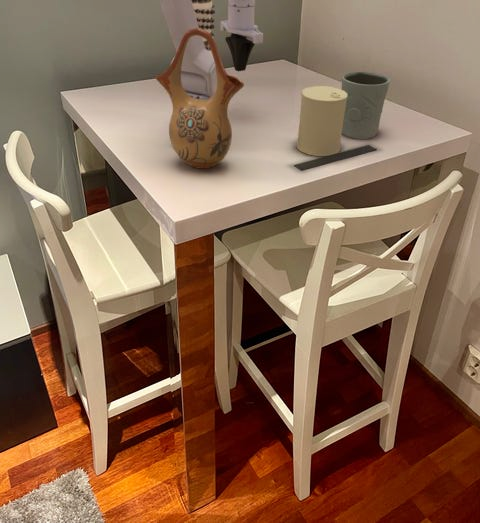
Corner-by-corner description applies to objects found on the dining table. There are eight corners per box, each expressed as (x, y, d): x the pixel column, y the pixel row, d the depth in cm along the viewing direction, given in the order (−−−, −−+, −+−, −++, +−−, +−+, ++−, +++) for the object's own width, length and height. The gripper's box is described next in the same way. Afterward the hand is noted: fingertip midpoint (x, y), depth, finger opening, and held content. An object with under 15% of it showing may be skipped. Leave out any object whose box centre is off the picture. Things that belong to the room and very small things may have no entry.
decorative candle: (221, 80, 146) (222, -20, 131) (202, 89, 140) (200, -15, 125) (195, 74, 150) (192, -23, 135) (175, 82, 144) (170, -19, 129)
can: (325, 160, 104) (333, 101, 97) (288, 148, 109) (292, 91, 102) (348, 146, 110) (356, 90, 103) (311, 135, 115) (317, 80, 108)
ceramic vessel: (247, 160, 104) (251, 26, 89) (235, 180, 97) (238, 37, 82) (169, 150, 107) (161, 19, 92) (153, 168, 100) (141, 29, 85)
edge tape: (301, 170, 101) (301, 169, 100) (293, 165, 102) (293, 164, 102) (376, 149, 109) (376, 149, 109) (368, 145, 111) (368, 144, 111)
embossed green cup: (346, 141, 112) (354, 86, 105) (327, 125, 120) (334, 72, 113) (388, 137, 115) (399, 83, 108) (367, 121, 123) (376, 69, 116)
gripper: (276, 9, 107) (272, 75, 115) (239, -2, 117) (238, 60, 125) (247, 12, 104) (245, 80, 112) (212, 0, 114) (212, 64, 122)
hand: (240, 70), depth 119 cm, fingers closed
